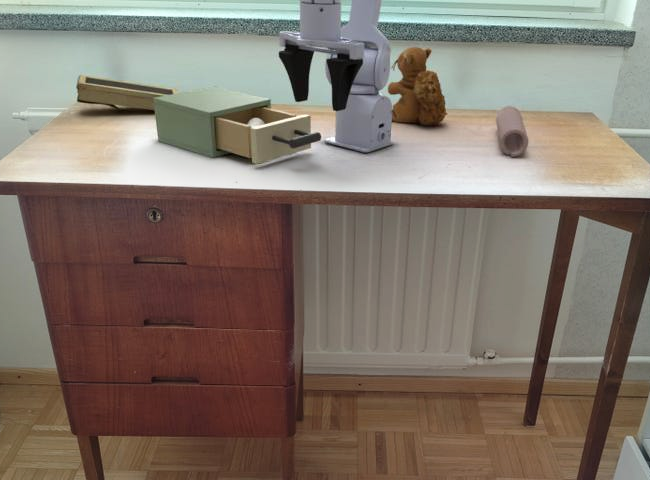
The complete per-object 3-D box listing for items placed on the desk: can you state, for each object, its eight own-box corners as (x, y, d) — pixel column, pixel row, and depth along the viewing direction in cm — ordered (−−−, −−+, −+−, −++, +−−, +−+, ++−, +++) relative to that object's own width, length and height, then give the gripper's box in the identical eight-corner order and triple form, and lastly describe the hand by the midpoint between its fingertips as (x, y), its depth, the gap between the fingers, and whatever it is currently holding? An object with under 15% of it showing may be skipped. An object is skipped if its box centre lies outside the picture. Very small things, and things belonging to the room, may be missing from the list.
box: (77, 100, 135) (77, 73, 133) (193, 115, 143) (195, 90, 141) (76, 110, 129) (76, 83, 126) (197, 126, 137) (199, 100, 134)
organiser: (272, 141, 120) (270, 99, 116) (213, 157, 111) (209, 112, 107) (217, 126, 127) (214, 86, 124) (158, 140, 118) (152, 97, 115)
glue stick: (257, 139, 116) (243, 126, 115) (269, 127, 115) (255, 113, 114) (250, 152, 110) (236, 138, 108) (263, 139, 108) (249, 125, 107)
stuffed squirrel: (416, 110, 143) (421, 41, 136) (460, 126, 133) (468, 53, 126) (376, 116, 138) (380, 44, 131) (419, 132, 128) (426, 56, 121)
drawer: (334, 154, 112) (334, 121, 109) (281, 171, 104) (280, 135, 101) (255, 133, 121) (254, 102, 118) (201, 147, 113) (198, 114, 110)
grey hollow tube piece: (532, 132, 114) (523, 107, 129) (504, 127, 114) (499, 103, 129) (524, 159, 116) (517, 132, 131) (497, 154, 117) (493, 128, 132)
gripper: (262, -1, 95) (266, 101, 103) (341, 9, 88) (339, 118, 95) (297, -4, 100) (298, 94, 107) (375, 5, 92) (371, 110, 100)
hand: (319, 105), depth 102 cm, fingers open, 7 cm apart
